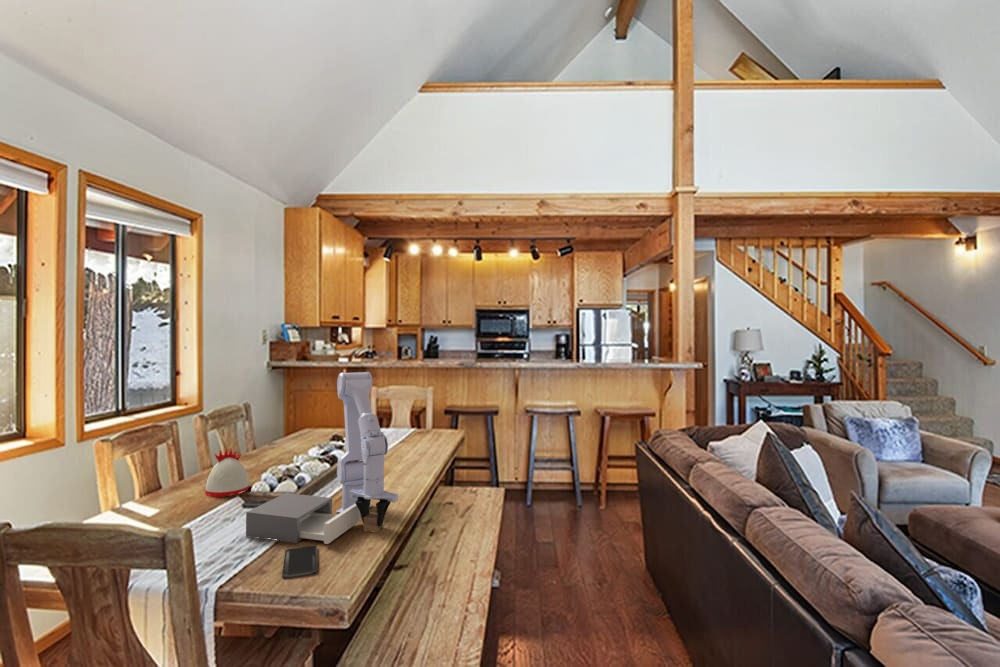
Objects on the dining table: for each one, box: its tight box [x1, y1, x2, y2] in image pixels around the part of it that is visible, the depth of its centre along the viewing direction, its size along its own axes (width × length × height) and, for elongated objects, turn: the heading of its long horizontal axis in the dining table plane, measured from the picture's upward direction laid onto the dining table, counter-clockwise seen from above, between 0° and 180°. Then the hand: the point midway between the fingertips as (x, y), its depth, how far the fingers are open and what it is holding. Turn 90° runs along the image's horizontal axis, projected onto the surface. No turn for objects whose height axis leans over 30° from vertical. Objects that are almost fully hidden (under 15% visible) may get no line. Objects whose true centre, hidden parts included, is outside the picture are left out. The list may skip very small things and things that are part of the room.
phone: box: [281, 545, 319, 580], centre depth 126 cm, size 8×1×15 cm
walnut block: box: [362, 511, 384, 533], centre depth 147 cm, size 4×4×4 cm
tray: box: [299, 503, 361, 545], centre depth 145 cm, size 16×17×5 cm
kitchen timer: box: [204, 448, 251, 498], centre depth 179 cm, size 14×14×15 cm
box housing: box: [245, 492, 333, 544], centre depth 147 cm, size 16×17×7 cm
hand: (373, 524), depth 147 cm, fingers closed on walnut block, 4 cm apart
